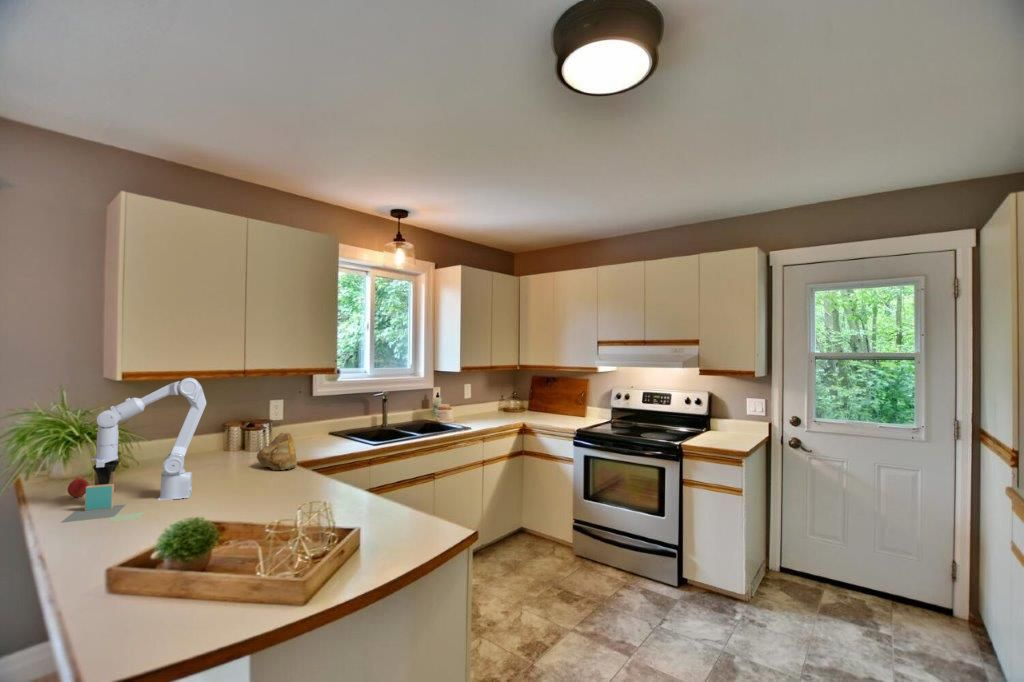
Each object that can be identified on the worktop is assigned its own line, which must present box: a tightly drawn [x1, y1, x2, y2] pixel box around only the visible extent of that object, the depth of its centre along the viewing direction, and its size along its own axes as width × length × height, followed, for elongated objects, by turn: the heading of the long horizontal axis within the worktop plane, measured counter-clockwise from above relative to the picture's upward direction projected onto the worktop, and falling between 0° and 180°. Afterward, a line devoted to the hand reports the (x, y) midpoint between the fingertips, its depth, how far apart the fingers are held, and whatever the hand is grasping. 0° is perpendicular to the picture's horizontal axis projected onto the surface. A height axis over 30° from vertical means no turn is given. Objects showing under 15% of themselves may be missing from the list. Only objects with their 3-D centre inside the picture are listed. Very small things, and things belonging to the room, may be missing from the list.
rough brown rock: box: [256, 432, 298, 471], centre depth 224 cm, size 23×17×15 cm
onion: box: [67, 475, 90, 499], centre depth 171 cm, size 6×6×8 cm
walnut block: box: [93, 471, 117, 493], centre depth 164 cm, size 5×3×7 cm, turn 117°
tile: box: [84, 484, 115, 511], centre depth 158 cm, size 7×2×8 cm, turn 117°
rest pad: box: [107, 511, 145, 523], centre depth 152 cm, size 8×7×1 cm
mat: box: [60, 504, 127, 523], centre depth 155 cm, size 13×14×1 cm
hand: (105, 484), depth 164 cm, fingers closed on walnut block, 3 cm apart
